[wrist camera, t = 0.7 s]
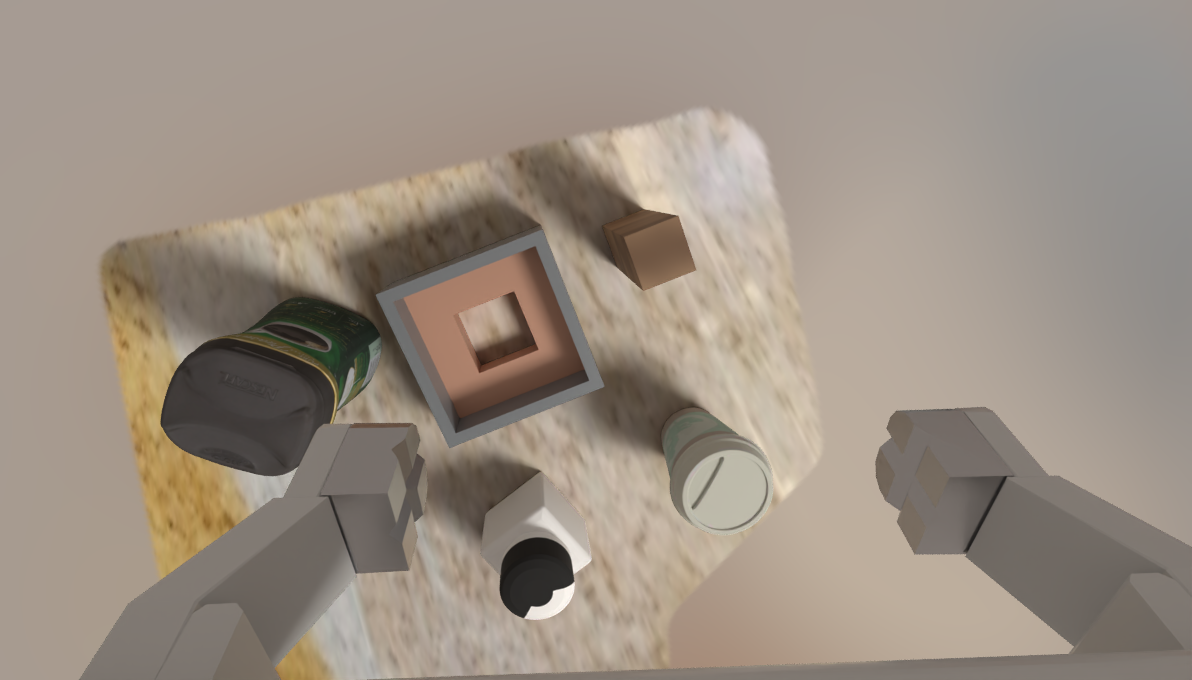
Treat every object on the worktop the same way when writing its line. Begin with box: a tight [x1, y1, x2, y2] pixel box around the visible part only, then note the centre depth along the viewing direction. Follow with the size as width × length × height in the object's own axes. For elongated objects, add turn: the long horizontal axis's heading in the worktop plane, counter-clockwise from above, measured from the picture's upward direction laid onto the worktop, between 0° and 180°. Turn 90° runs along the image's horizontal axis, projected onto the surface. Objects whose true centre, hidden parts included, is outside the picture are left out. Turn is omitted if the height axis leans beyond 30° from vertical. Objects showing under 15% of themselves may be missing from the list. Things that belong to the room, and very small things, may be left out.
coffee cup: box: [661, 407, 773, 535], centre depth 55 cm, size 9×8×12 cm
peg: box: [602, 209, 696, 291], centre depth 49 cm, size 4×4×13 cm
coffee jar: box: [161, 297, 382, 476], centre depth 46 cm, size 10×8×19 cm
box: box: [376, 225, 605, 448], centre depth 53 cm, size 14×14×6 cm
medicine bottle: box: [480, 472, 592, 620], centre depth 55 cm, size 7×7×12 cm
